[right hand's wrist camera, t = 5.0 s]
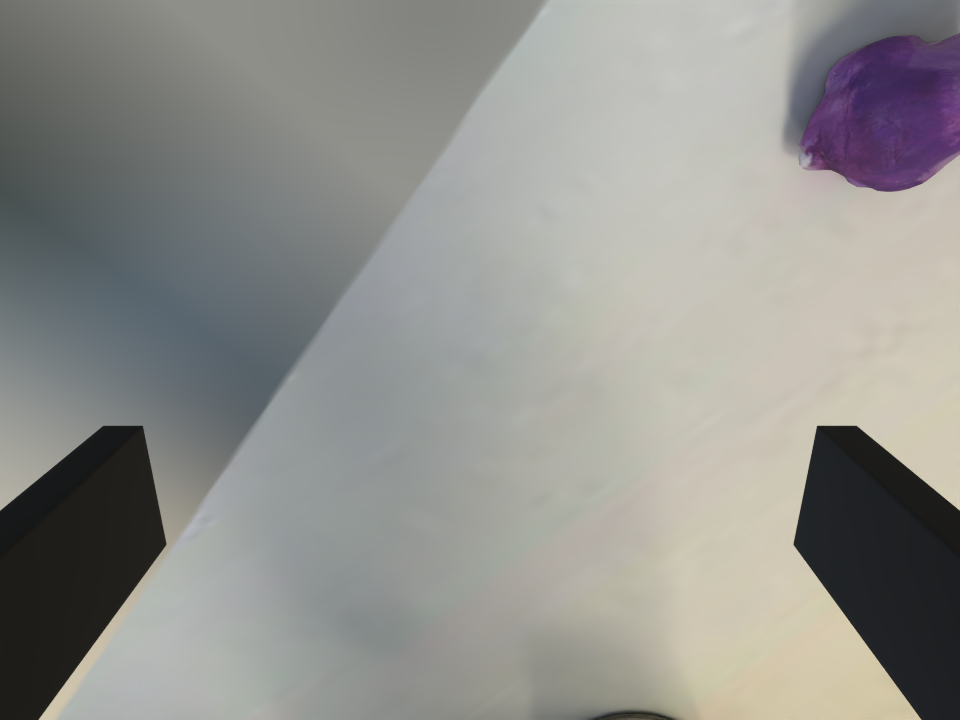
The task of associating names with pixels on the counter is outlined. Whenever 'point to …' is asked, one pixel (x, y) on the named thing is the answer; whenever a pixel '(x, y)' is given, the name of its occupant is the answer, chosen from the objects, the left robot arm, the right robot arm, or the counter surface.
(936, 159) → the figurine
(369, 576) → the counter surface
